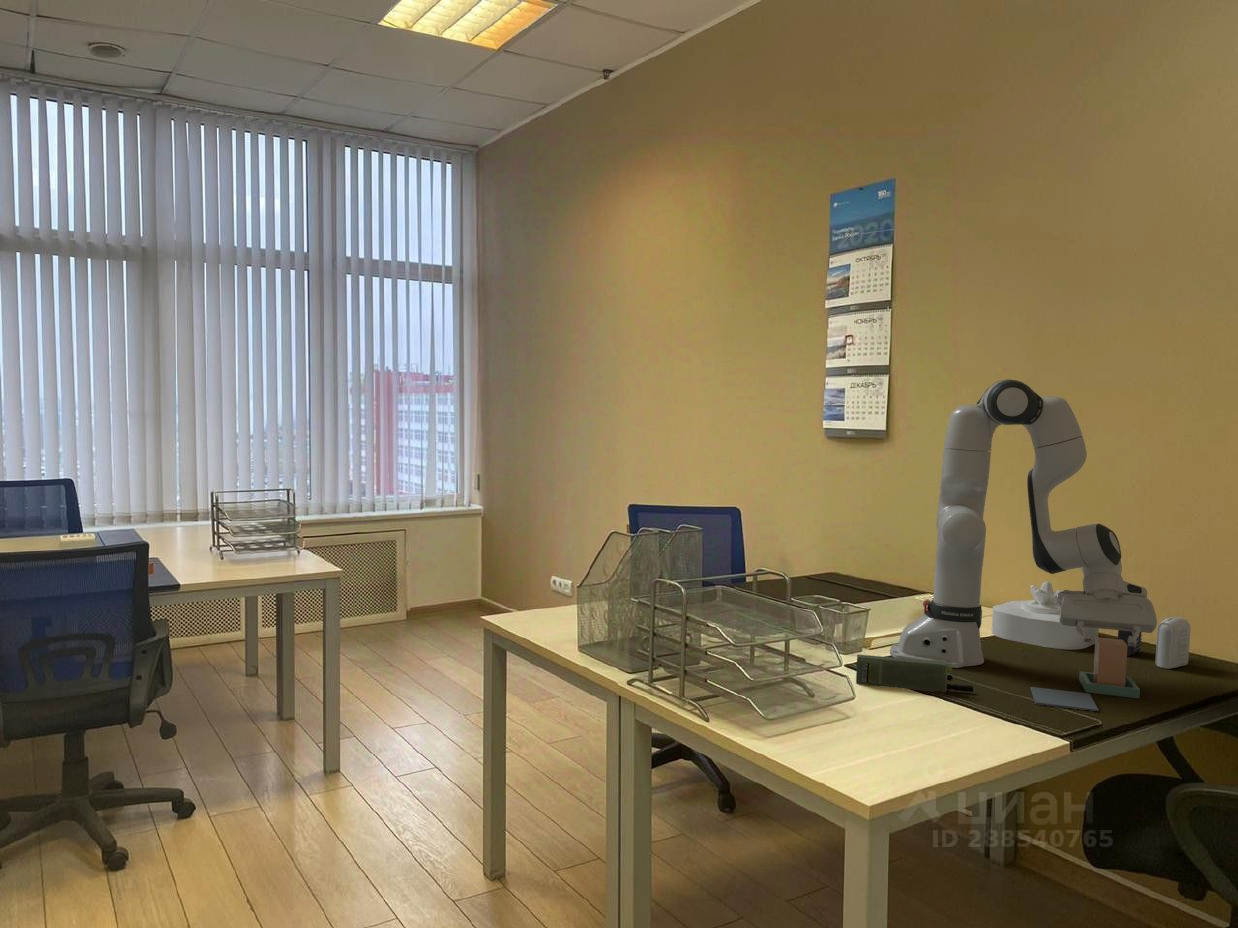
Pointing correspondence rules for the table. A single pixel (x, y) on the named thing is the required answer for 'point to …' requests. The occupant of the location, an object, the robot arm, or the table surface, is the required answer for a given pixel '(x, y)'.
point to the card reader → (1124, 636)
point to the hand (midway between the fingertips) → (1109, 642)
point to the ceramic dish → (1109, 687)
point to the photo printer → (1173, 643)
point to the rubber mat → (1063, 699)
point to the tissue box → (1038, 622)
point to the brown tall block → (1110, 661)
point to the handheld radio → (905, 673)
